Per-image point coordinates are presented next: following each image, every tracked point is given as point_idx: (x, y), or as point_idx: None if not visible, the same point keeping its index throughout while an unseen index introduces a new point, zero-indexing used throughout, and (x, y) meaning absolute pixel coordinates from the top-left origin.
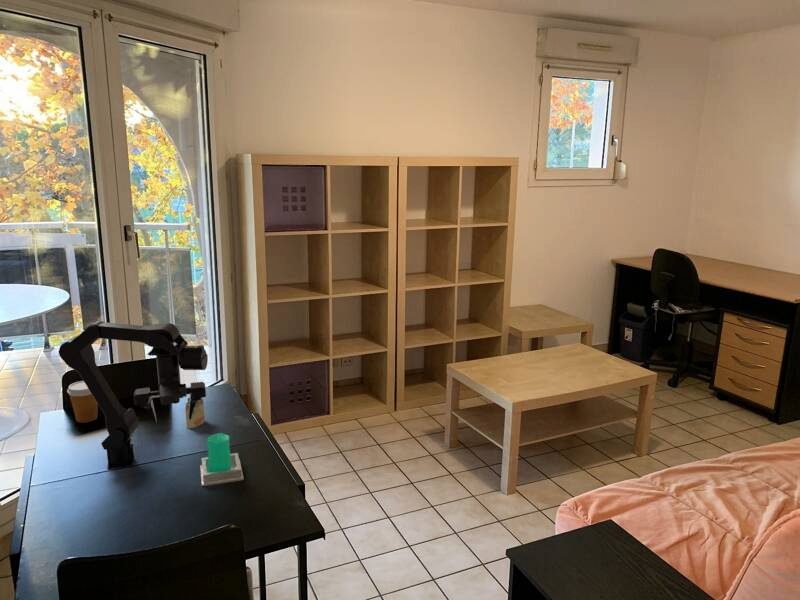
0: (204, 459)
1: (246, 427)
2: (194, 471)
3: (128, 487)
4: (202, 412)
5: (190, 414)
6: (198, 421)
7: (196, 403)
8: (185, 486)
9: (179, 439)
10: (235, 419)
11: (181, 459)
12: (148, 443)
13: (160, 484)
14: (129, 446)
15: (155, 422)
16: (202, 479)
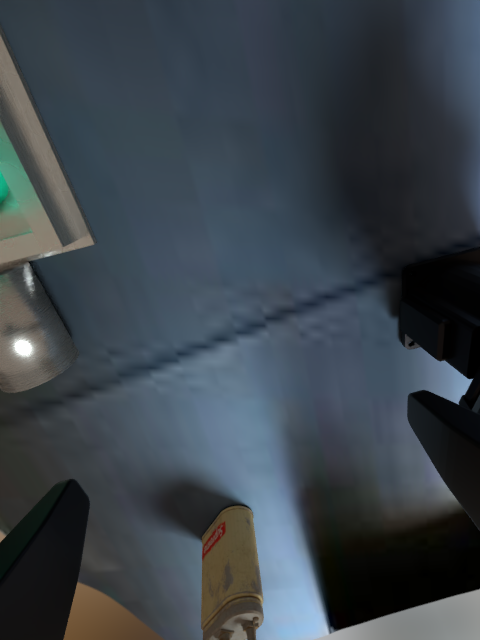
0: (36, 228)
1: None
2: (109, 199)
3: (405, 44)
4: (204, 577)
5: (12, 546)
6: (215, 536)
7: (219, 625)
8: (93, 12)
9: (256, 448)
10: (107, 554)
11: (208, 314)
12: (357, 424)
13: (245, 61)
14: (466, 319)
15: (427, 401)
16: (8, 70)
